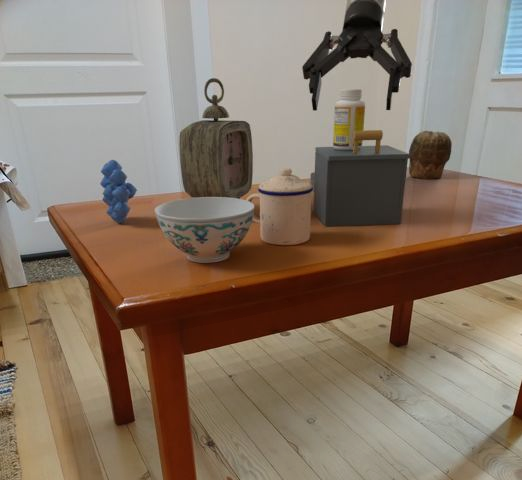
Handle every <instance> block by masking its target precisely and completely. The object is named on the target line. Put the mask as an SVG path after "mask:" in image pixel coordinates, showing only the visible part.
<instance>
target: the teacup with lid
mask: <svg viewBox="0 0 522 480" xmlns="http://www.w3.org/2000/svg"><path fill="white" fill-rule="evenodd" d="M278 171H279V174H277V175H274V176H272V177H271V178H270V179H269V180H267V181H263V182H261V183H260V184H259V186H258V188H257V191H258V193H257V192H256V193H253V194H250V195H249V196H248V197H247V198H246V199H245V200H246V201H249V202H251V203H252V201H253V200H254V199H259V217H258V216H257V215H256V214H254V215H253V220H252V222H254V223H257V224H259V233H260V234H259V235H260V239H261V241H262V242H263V243H266V244H270V245H275V246H295V245H300V244H305V243H306V242H308V241H309V240H310V239H311V216H312V214H311V213H312V192H313V191H312V190H313V188H312V185H311V184H310V181H306V180H303V179H302V178H300V177H299V176H297V175H295V174H292V173H293V171H292V169H291V168H289V167H282V168H280V169H279V170H278Z"/></svg>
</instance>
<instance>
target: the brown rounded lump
mask: <svg viewBox="0 0 522 480" xmlns="http://www.w3.org/2000/svg"><path fill="white" fill-rule="evenodd" d="M452 145H453V143H452V140H451V137H450V136H449V135H448V134H447V133H446V132H443V131H433V130H422V131H420V132H419V133H418V134H416V135H415V136H414V137H413V139H412V141H411V143H410V146H409V149H408V153H409V154H410V158H409V159H408V160H409V163H408V173H409V175H410V177H411V178H417V179H422V180H423V179H424V180H435V179H434V178H437V179H441V177H442V176H443V173H444V169H445V166H446V164H447V163H448V162H449V161H450V158H451V154H452Z"/></svg>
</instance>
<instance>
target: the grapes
mask: <svg viewBox="0 0 522 480" xmlns="http://www.w3.org/2000/svg"><path fill="white" fill-rule="evenodd" d="M122 169H123V166H122V165H121V164H120V163H119V162H118V161H117V160H115V159H111V160H108V162H106V163H104V165H103V166H102V168H101V171H100V172H101V174H102V175H103V178H102V179H101V182H100V183H99V184H100V186H101V187H102V188H103V189H104V190H103V192H102V195H103V197H102V201H103V202H104V203H105V204H106V205H107V206H108V208H107V210H106V212H105V213H106V214H107V215H108V216H109V217H110V218H111V219H112V220H113V221H114V222H115V223H116V224H122V223H124V222H125V221H126V219H127V217H128V214H129V213H130V210H131V206H130V205H129V204H128V202H129V200H130V199H133V198H134V197H135V195H136V194H137V192H138V189H137V188H136V187H135V186H134V185H133V184H132V183H130V182H126V181H127V179H128V176H127V175H126V173H125V172H124V171H123V170H122Z"/></svg>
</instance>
